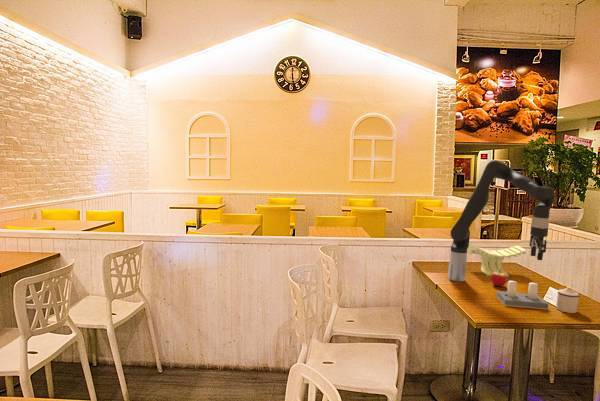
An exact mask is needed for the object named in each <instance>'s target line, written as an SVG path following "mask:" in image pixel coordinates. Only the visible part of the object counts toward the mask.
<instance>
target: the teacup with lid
mask: <svg viewBox="0 0 600 401" xmlns="http://www.w3.org/2000/svg"><path fill="white" fill-rule="evenodd" d="M556 297H557V298H556V306H555V307H556V310H558V311H559V312H563V313H566V312H567V313H566V314H576V313H577V312H578V308H579V307H578V305H579V297H580V294H579V292H577V291H575V290H573V289H572V287H570V286H567V287H566V288H563V289H558V290H557V296H556Z"/></svg>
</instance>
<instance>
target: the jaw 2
mask: <svg viewBox="0 0 600 401" xmlns="http://www.w3.org/2000/svg"><path fill="white" fill-rule="evenodd" d="M538 288H539V283H536V282H528V291H527V294H528V298H527V299H530V300H537V295H538Z"/></svg>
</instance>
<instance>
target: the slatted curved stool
mask: <svg viewBox="0 0 600 401" xmlns="http://www.w3.org/2000/svg"><path fill="white" fill-rule="evenodd" d="M473 254H474V255H478V256H480V260H481V266H480V271H482V272H483V273H484V274H485V275H487V276H490V277H491V275H492V273H494V272H500V273H504V274H506V276H507V278H508V277H509V278H510V276H509V273H507V272H506V271H505V270H504V269H503V267H502V264H503V261H504V259H505V258H507V259H512V258H513V257H515V258H518V257H519V256H522V255H526V254H527V249H525V248H523V247H522V246H519V245H513V246H511V247H507V248H503V249H496V250H494V249H492V250H491V249H489V250H488V249H485V248H481V247H479V246H476V245H475V244H473V243H471V242H469V246H468V249H467V255H473ZM500 269H501V270H500Z"/></svg>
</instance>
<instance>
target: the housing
mask: <svg viewBox="0 0 600 401" xmlns="http://www.w3.org/2000/svg"><path fill="white" fill-rule="evenodd" d="M506 296H507V291H501V290H496V296H495V297H496V298H497V299H498V300H499V301H500V303H502V305H503V306H505V307H515V308H517V307H518V308H526V309H528V308H529V309H538V310H549V303H548V302H547V301H546V300H544V299H543V298H542V297H541V296H540V295H539V294H537V300H530V299H527V298H528V293H523V292H516V298H507V297H506Z"/></svg>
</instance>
